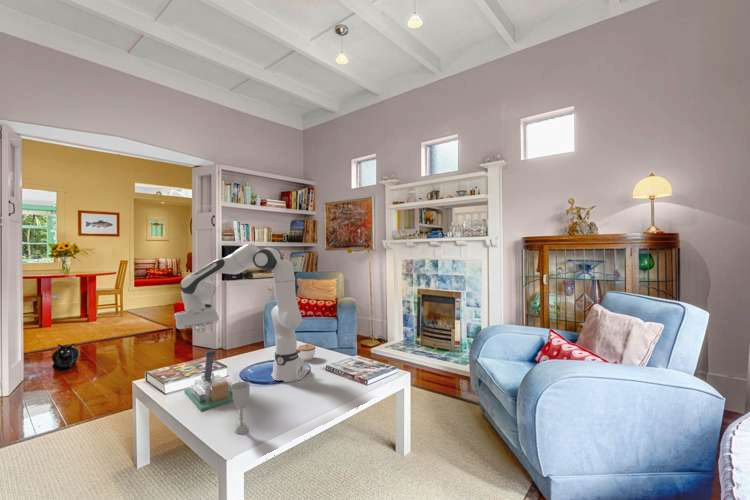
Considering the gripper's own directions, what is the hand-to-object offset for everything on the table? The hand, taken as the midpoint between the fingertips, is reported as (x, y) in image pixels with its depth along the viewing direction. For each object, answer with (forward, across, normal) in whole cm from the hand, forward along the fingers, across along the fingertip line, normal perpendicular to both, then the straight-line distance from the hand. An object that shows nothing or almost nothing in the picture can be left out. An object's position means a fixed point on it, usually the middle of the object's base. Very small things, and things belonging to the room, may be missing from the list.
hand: (200, 332), depth 181 cm
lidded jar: (+21, +61, +18) cm, 67 cm away
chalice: (+60, -2, -21) cm, 64 cm away
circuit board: (+31, 0, +7) cm, 32 cm away
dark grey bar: (+19, 0, +1) cm, 19 cm away
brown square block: (+37, 0, 0) cm, 37 cm away
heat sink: (+30, 0, +7) cm, 31 cm away
